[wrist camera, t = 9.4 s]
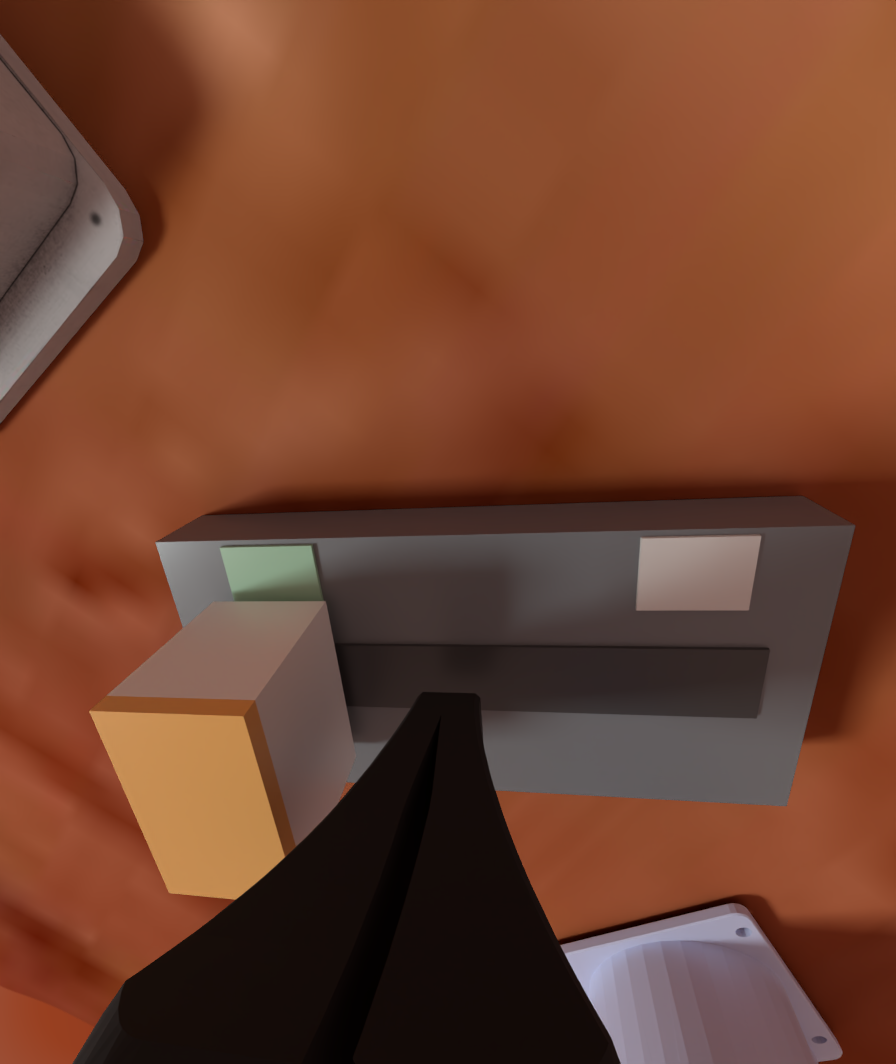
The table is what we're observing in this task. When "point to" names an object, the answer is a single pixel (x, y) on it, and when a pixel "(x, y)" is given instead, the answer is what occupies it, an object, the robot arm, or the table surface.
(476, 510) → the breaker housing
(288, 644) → the knob
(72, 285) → the emergency button
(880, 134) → the table surface
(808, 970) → the table surface
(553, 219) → the table surface
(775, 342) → the table surface
